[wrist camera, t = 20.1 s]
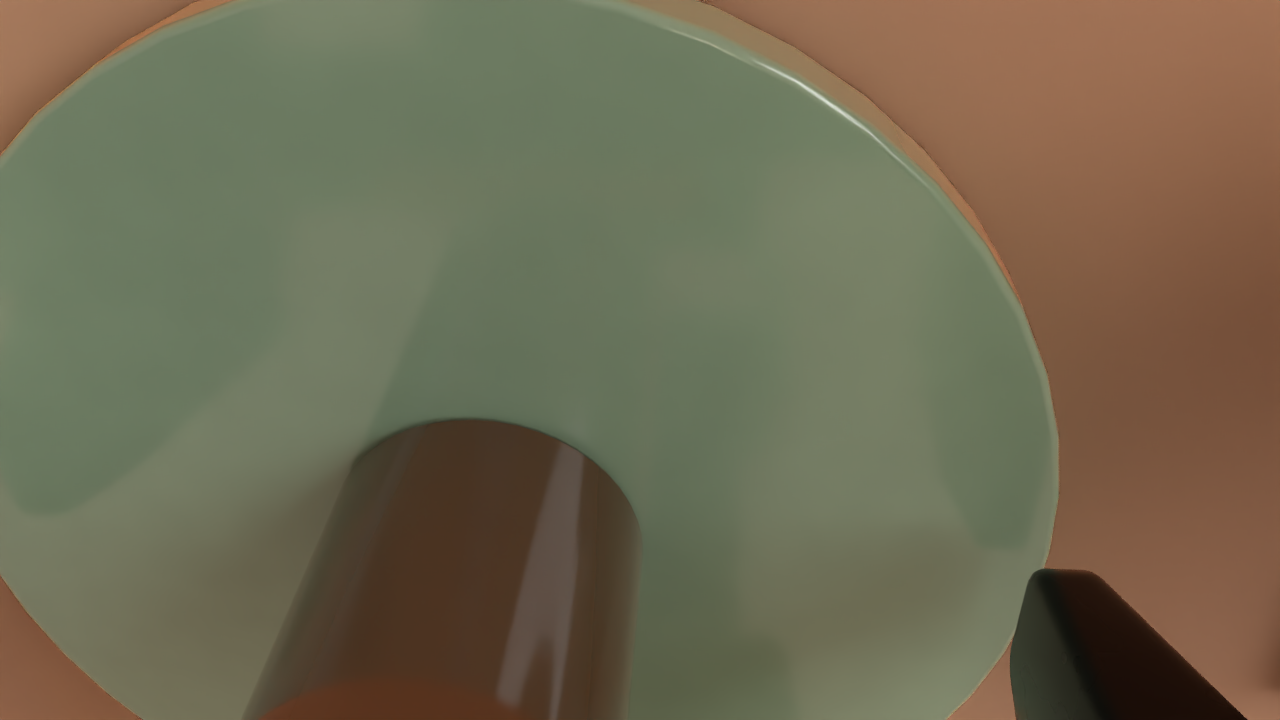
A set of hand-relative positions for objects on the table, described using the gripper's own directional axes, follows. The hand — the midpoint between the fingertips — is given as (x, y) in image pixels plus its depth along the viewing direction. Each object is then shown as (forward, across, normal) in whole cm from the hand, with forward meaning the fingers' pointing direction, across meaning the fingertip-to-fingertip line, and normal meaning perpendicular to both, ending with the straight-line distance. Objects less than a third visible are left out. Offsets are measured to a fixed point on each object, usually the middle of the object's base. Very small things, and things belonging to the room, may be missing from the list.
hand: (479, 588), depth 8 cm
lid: (+1, 0, 0) cm, 1 cm away
